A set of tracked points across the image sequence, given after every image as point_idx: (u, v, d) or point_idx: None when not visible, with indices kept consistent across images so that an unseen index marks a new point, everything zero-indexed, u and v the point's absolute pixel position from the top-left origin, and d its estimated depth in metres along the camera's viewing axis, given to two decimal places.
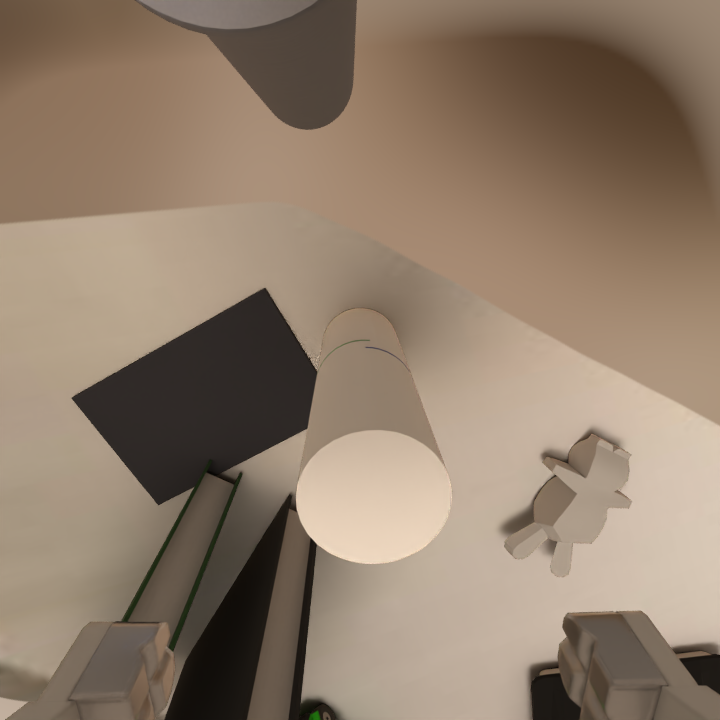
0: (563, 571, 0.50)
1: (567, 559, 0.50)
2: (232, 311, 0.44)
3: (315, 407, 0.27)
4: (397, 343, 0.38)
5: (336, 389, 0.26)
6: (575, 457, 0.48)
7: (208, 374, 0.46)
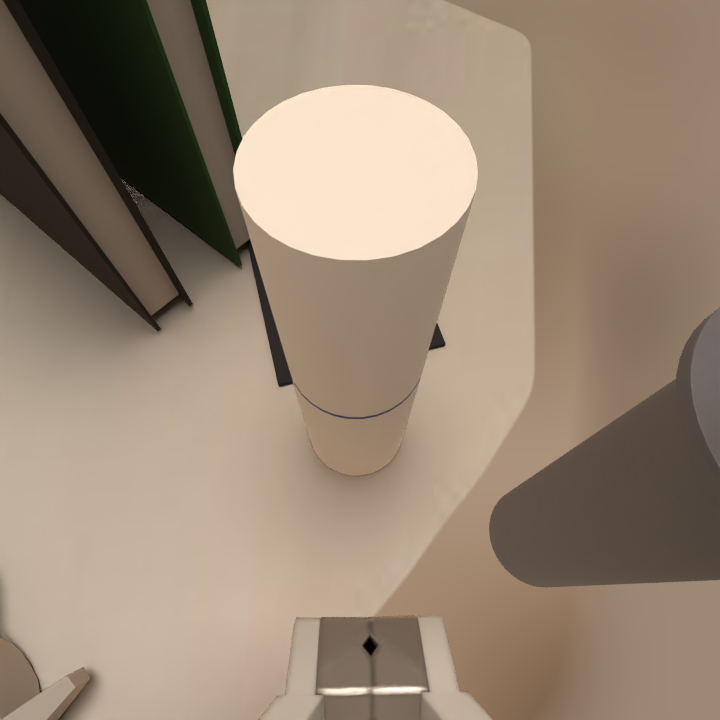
0: None
1: None
2: None
3: None
4: (381, 443, 0.29)
5: None
6: None
7: None
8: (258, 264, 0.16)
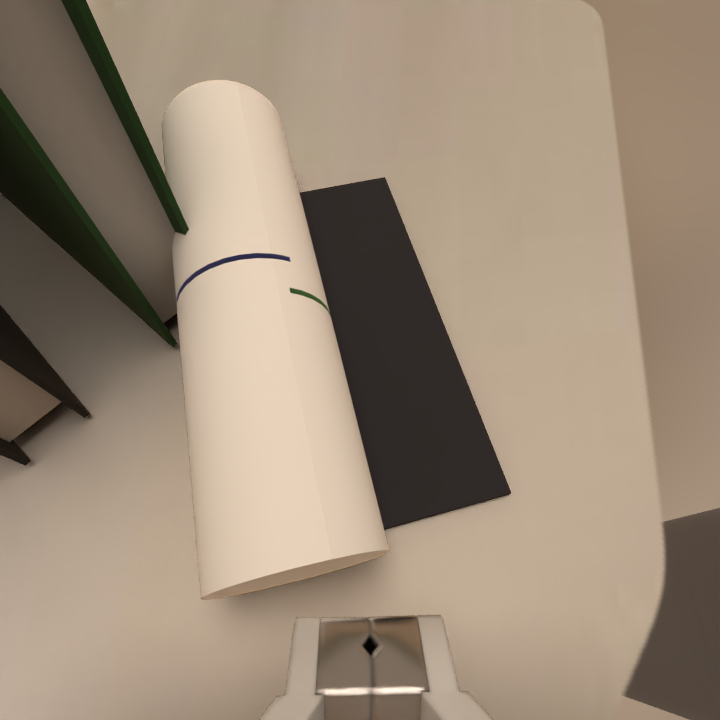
0: None
1: None
2: (476, 424, 0.25)
3: None
4: (234, 374, 0.18)
5: (293, 180, 0.26)
6: None
7: (373, 353, 0.27)
8: None
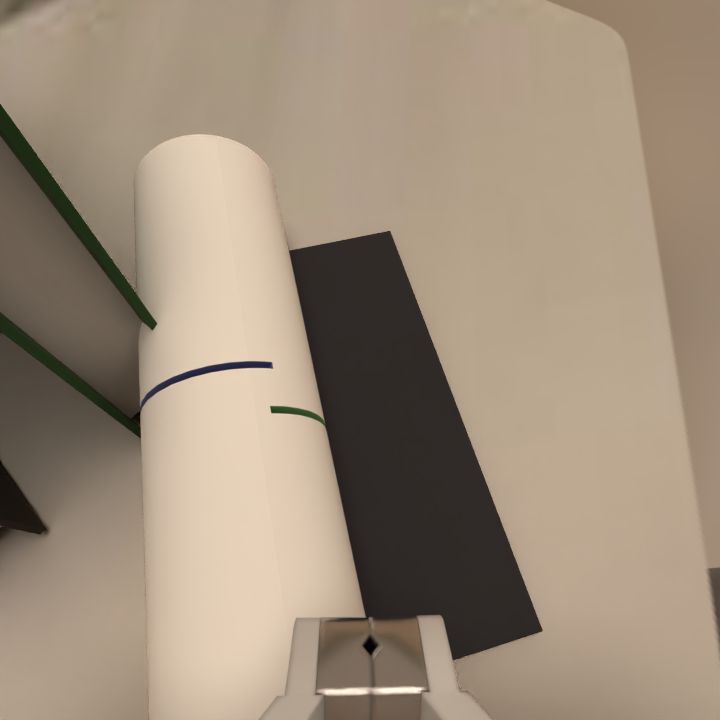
0: None
1: None
2: (499, 540, 0.21)
3: None
4: (197, 534, 0.14)
5: (282, 251, 0.22)
6: None
7: (378, 449, 0.23)
8: None
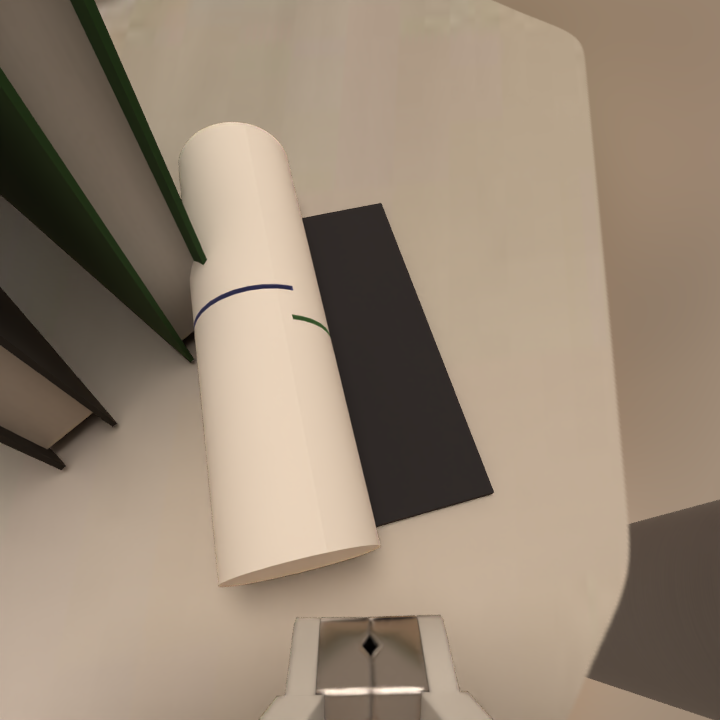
0: None
1: None
2: (463, 431, 0.28)
3: None
4: (244, 393, 0.21)
5: (296, 212, 0.28)
6: None
7: (371, 367, 0.29)
8: None
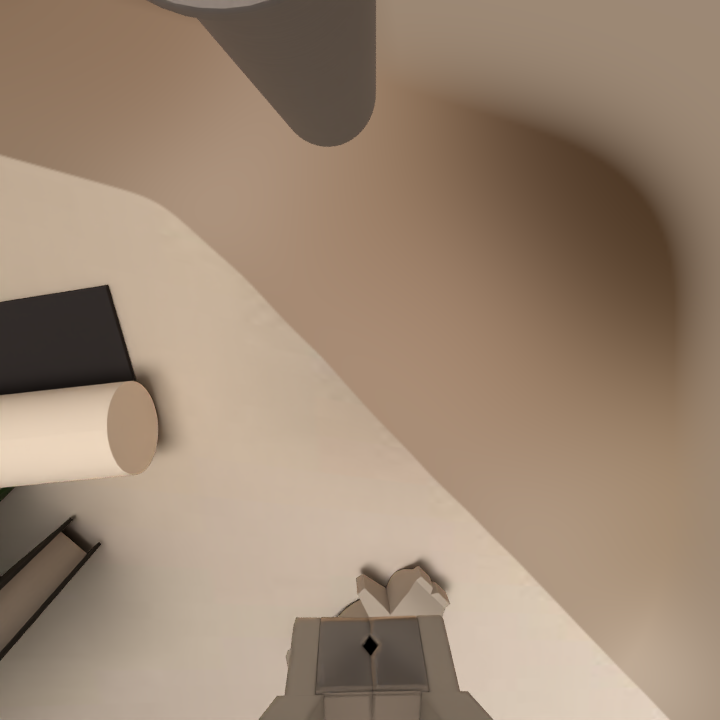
0: None
1: None
2: (61, 297, 0.38)
3: None
4: (17, 469, 0.34)
5: None
6: (393, 585, 0.43)
7: (16, 356, 0.39)
8: None
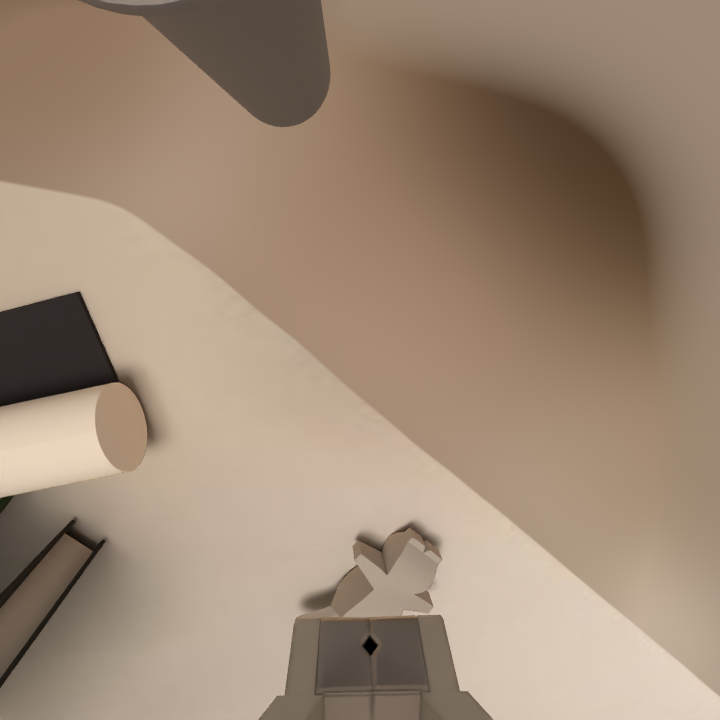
0: None
1: None
2: (35, 308, 0.38)
3: None
4: (13, 478, 0.35)
5: None
6: (388, 548, 0.45)
7: None
8: None
